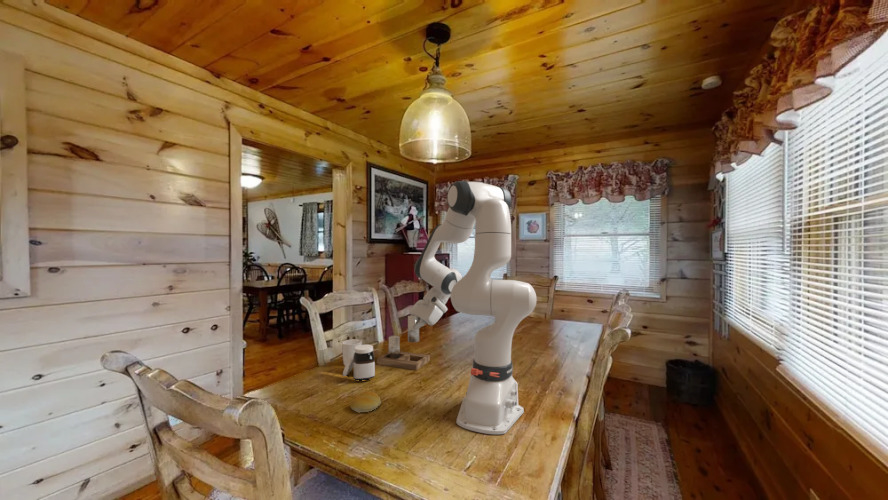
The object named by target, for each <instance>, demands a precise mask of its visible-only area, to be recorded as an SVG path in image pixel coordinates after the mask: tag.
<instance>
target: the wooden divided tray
mask: <svg viewBox="0 0 888 500" xmlns="http://www.w3.org/2000/svg"><path fill="white" fill-rule="evenodd" d="M430 359H431V357H430V354H423V353H415V352H409V351H408V352H407V351H401V350H400V358H398V359H393V358H389V351H388V352H386V353H385V354H383V355H381V356H379V357H378V358H376V365H380V366H385V367H393V368H397V369H404V370H410V371H411V370H412V371H418V370H420V369H421V368H422V367H423V366H425V365H426V364H427V363H429V362H430Z"/></svg>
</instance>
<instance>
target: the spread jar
mask: <svg viewBox="0 0 888 500" xmlns="http://www.w3.org/2000/svg"><path fill="white" fill-rule="evenodd" d="M354 351H355V353H354V355H353V359H352V358H350V359H349V360H348V362H347V364H346V366H345V365H344V368H343V372H342V376H343V377H344V376H347V375H348V376H349V374H350V372H351V371H352V370H353V371H352V372H353V373H352V374H353V377H352V378H353V380H354V379H355V380H354V381H356V380H359V381H362V380H369V379H372V378H375V375H376V370H375V369H376V367H375V366H376V363H375V361H376V358H375V353H374V345H372V344H362V345H358V346H356V347H355V348H354ZM369 381H370V380H369Z"/></svg>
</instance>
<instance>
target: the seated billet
mask: <svg viewBox="0 0 888 500" xmlns="http://www.w3.org/2000/svg"><path fill="white" fill-rule="evenodd" d="M400 339H401V338H400V336H399V335H390V336H388V352H389V358H393V359H398V358H400V351H401V348H400V342H401V341H400Z"/></svg>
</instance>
